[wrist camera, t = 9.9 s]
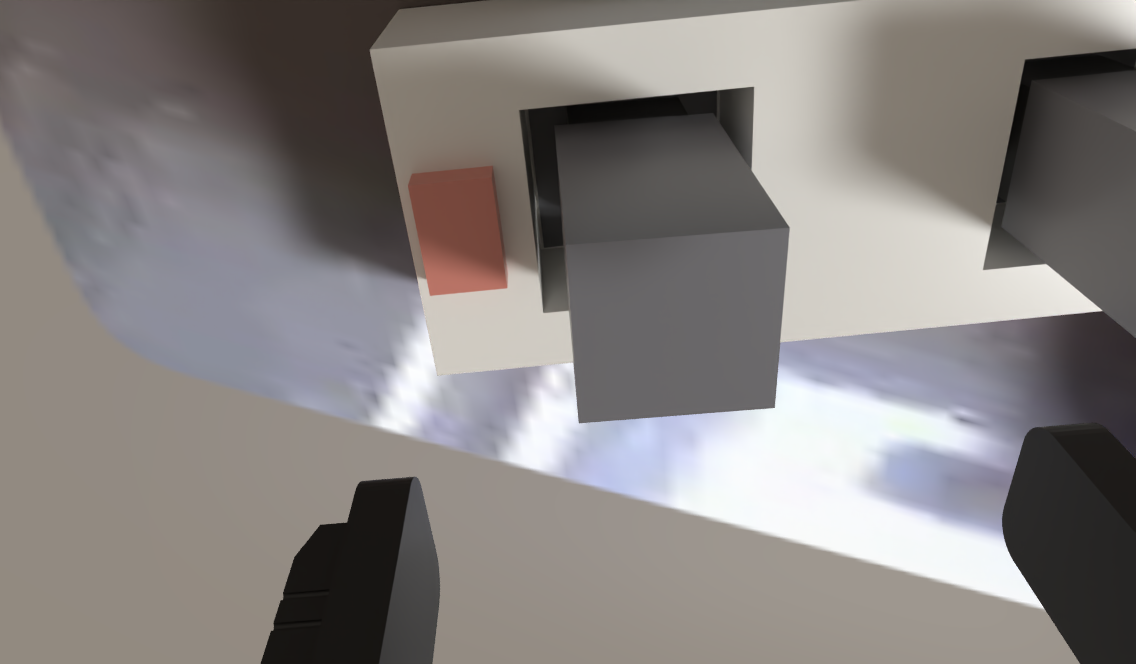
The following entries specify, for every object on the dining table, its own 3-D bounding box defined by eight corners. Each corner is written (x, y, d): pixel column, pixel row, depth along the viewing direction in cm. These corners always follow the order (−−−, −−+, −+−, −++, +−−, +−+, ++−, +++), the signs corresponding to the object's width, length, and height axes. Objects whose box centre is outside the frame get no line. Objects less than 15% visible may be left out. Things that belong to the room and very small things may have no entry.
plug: (551, 92, 23) (565, 245, 14) (692, 82, 23) (789, 228, 15) (560, 222, 25) (578, 423, 17) (690, 213, 25) (774, 408, 17)
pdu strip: (399, 9, 23) (363, 58, 18) (1261, -78, 23) (1468, -54, 18) (451, 291, 27) (434, 391, 22) (1165, 221, 27) (1307, 307, 22)
